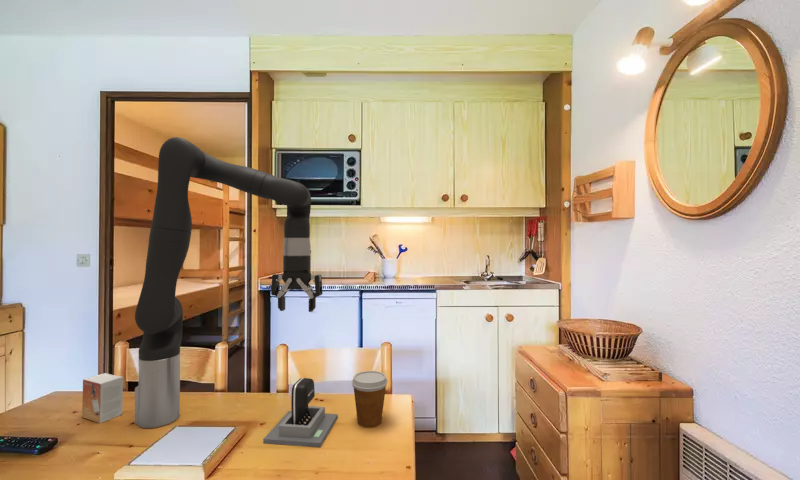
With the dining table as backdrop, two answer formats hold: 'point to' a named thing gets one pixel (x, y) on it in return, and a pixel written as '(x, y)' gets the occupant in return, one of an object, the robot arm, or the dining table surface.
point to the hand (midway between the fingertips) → (296, 310)
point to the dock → (302, 429)
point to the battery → (302, 401)
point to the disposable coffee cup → (369, 397)
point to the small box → (102, 397)
